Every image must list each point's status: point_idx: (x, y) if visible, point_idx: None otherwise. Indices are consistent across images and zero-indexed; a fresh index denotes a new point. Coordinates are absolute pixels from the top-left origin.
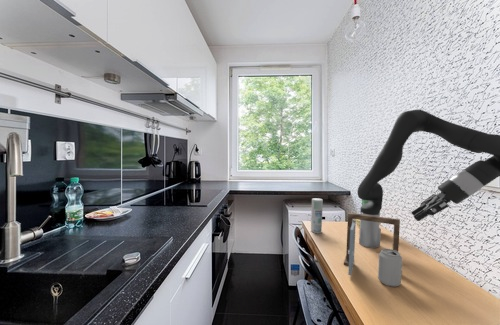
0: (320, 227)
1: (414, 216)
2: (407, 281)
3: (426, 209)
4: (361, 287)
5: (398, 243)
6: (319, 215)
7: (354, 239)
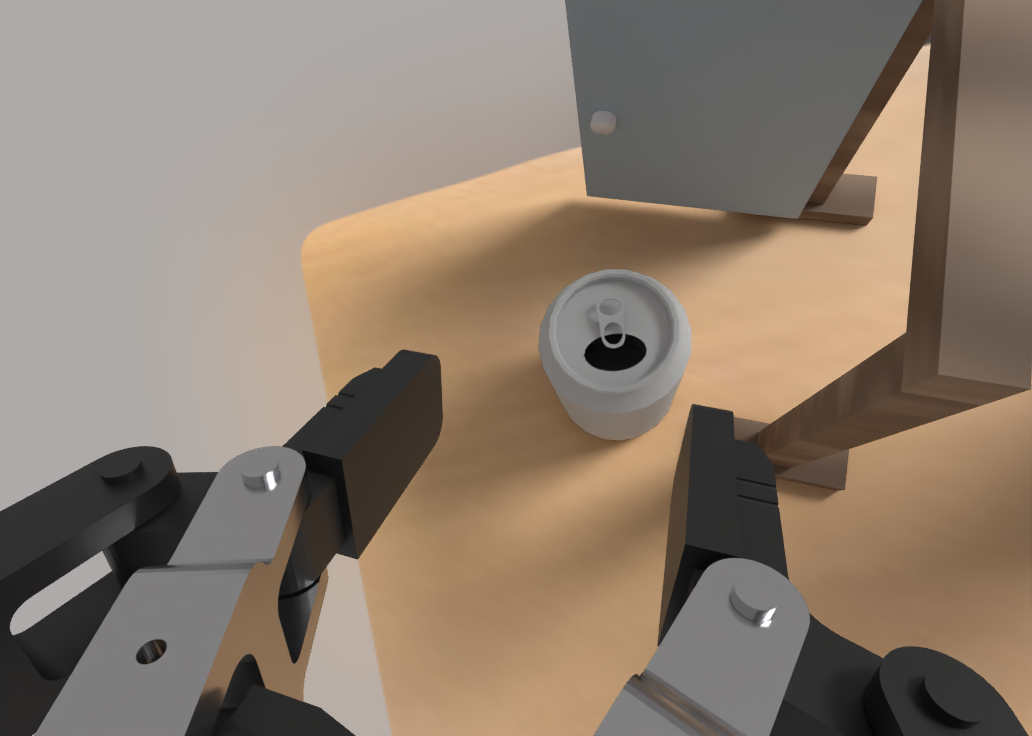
0: None
1: (401, 358)
2: (666, 494)
3: (121, 456)
4: (515, 245)
5: (816, 429)
6: None
7: (793, 102)
